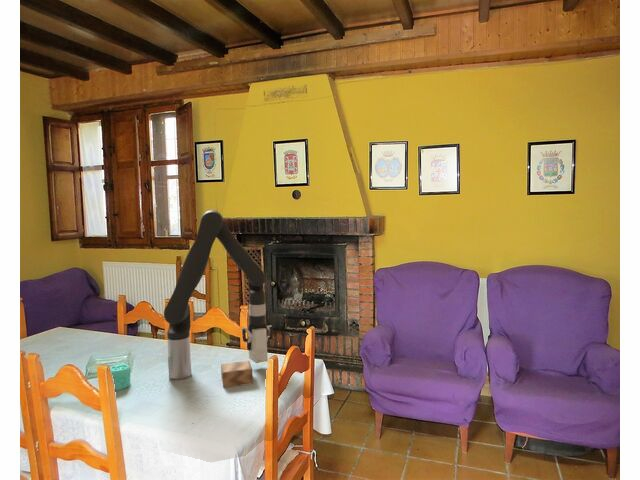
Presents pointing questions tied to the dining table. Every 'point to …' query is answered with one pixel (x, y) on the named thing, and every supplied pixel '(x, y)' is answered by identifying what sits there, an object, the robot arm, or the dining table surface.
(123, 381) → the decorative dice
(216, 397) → the dining table surface
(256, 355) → the skincare box
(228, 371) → the walnut block
